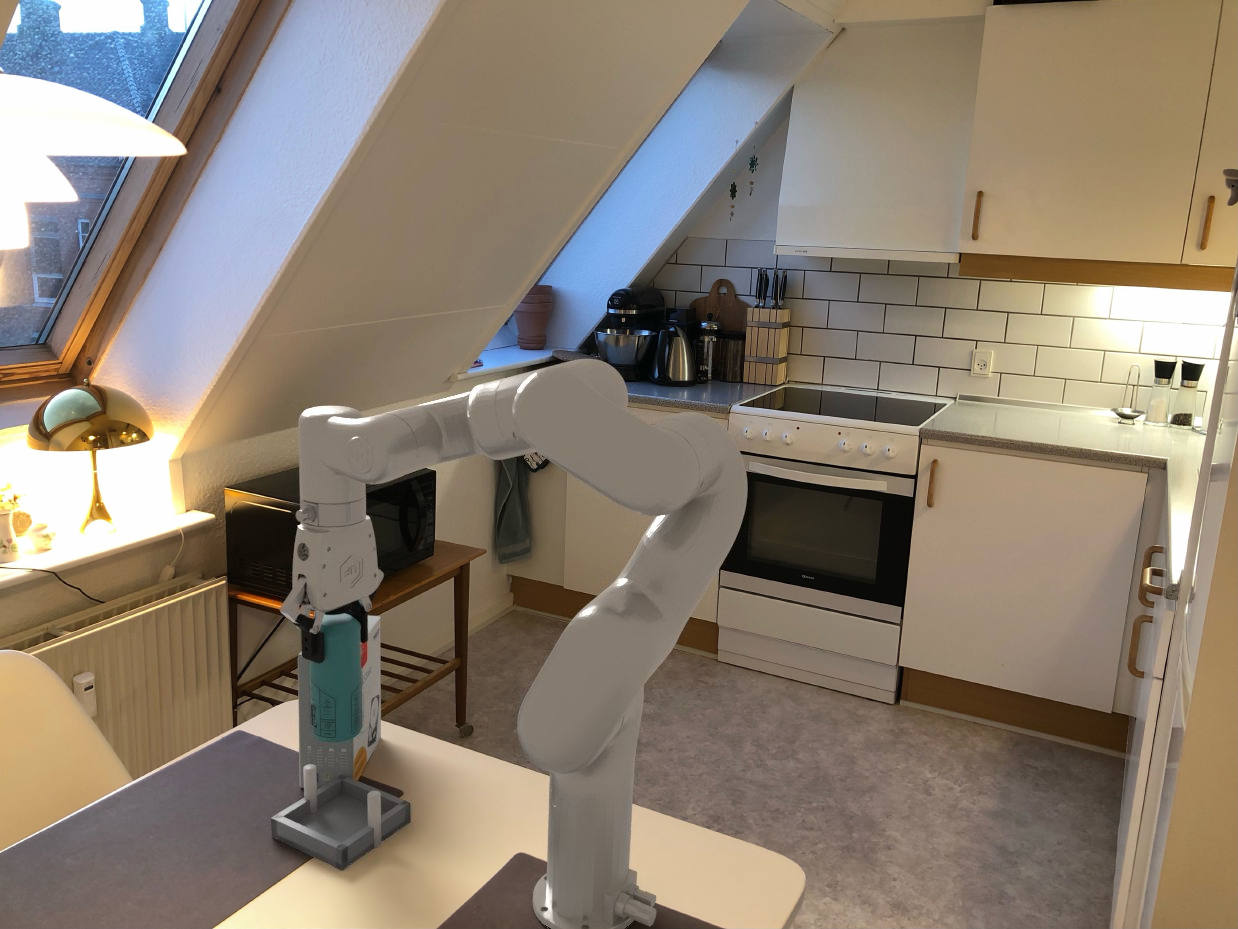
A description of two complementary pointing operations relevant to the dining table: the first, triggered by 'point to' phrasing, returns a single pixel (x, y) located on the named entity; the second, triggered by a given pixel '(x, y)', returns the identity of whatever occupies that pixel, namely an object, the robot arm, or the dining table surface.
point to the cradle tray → (339, 819)
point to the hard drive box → (357, 751)
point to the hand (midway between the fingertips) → (335, 648)
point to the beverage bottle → (337, 680)
